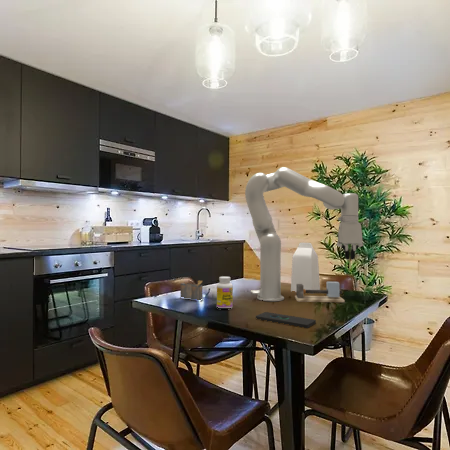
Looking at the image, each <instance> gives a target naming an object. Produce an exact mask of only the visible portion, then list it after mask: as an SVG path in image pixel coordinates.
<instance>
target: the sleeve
mask: <svg viewBox="0 0 450 450" xmlns="http://www.w3.org/2000/svg"><path fill="white" fill-rule="evenodd" d="M325 283H326V289H325V290H328V294H326V296H328V297H341V296H340V295H341V294H340V292H339V290H340V282H339V281H326V282H325Z"/></svg>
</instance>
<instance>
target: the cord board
mask: <svg viewBox="0 0 450 450" xmlns="http://www.w3.org/2000/svg"><path fill="white" fill-rule="evenodd" d="M339 292H340V295H343V289H342V290H341V289H339ZM311 293H313V294H323V295H306V294H311ZM304 294H305V295H304ZM325 294H326V295H325ZM327 294H328V290H326V289H320V290H305V289H303V285H302V284H297V292H296V295H294V298H295V300H296V302H300V303H301V302H303V303H304V302H305V303H307V302H308V303H309V302H311V303H317V302H318V303H346V302H345V299H344V298H342V297H341V296H340V297H328V296H327Z"/></svg>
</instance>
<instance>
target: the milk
mask: <svg viewBox="0 0 450 450" xmlns="http://www.w3.org/2000/svg"><path fill="white" fill-rule="evenodd" d="M291 261H292V263H291V277H290V278H291V279H290V292H292V291H295V293H297V284H302V285H303V289H305V290H321V286H320V284H321V283H320V266H319V255H318V253H317V252H316V250H315V248H314V247H313V244H312V243H311V242H299V244H298V246H297V247H296V250H295V251H294V253H293V255H292V260H291ZM310 294H312V295H313V294H314V293H310Z"/></svg>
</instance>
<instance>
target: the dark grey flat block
mask: <svg viewBox="0 0 450 450" xmlns="http://www.w3.org/2000/svg"><path fill="white" fill-rule="evenodd" d="M256 318H257V319H261V320H260V321H263V320H267V321H266V322H268V321H272V322H271V323H274V322H278V323H277V324H280V323H284V324H283V325H285V324H289V325H288V326H291V325H294V326H293V327H297V326H299V327H298V328H302V327H304V328H303V329H308V328H310V326H311V327H312V326H314V325H315V324H316V323H317V321H316V319H312V318H306V317H301V316H295V315H293V316H292V315H289V314H280V313H275V312H271V311H269V312H268V311H265V312H264V311H263V312H262V313H260V314H256V315H255V319H256ZM257 319H256V320H257Z"/></svg>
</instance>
